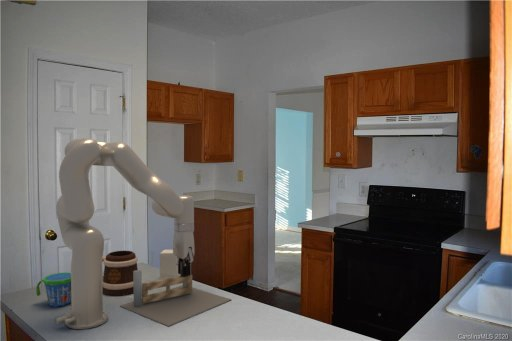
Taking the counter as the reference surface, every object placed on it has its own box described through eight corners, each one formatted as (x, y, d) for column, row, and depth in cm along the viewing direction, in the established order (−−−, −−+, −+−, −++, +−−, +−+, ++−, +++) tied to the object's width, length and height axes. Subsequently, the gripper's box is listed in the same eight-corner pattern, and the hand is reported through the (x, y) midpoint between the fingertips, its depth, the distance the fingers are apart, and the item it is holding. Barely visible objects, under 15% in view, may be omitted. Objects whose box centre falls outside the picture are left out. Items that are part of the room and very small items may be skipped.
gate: (144, 304, 145) (144, 269, 144) (141, 301, 147) (141, 267, 147) (193, 293, 156) (193, 261, 156) (189, 291, 159) (189, 259, 158)
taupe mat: (168, 326, 128) (168, 325, 128) (119, 306, 145) (119, 305, 145) (231, 300, 152) (231, 299, 152) (183, 285, 168) (183, 284, 168)
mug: (148, 286, 167) (147, 250, 167) (123, 298, 153) (123, 259, 153) (109, 281, 174) (109, 246, 174) (83, 292, 160) (82, 254, 160)
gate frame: (136, 308, 143) (136, 272, 142) (132, 307, 145) (131, 271, 144) (191, 289, 163) (191, 258, 163) (186, 288, 165) (186, 257, 165)
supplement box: (176, 282, 173) (176, 253, 172) (159, 282, 173) (159, 253, 173) (180, 277, 180) (180, 249, 180) (163, 276, 180) (163, 249, 180)
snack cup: (30, 309, 142) (30, 280, 142) (45, 298, 153) (45, 272, 152) (75, 309, 143) (74, 280, 142) (86, 298, 153) (86, 272, 153)
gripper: (166, 225, 159) (166, 271, 160) (184, 231, 146) (184, 281, 147) (183, 223, 164) (183, 268, 164) (202, 229, 150) (203, 278, 151)
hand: (184, 274), depth 155 cm, fingers closed on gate, 3 cm apart
